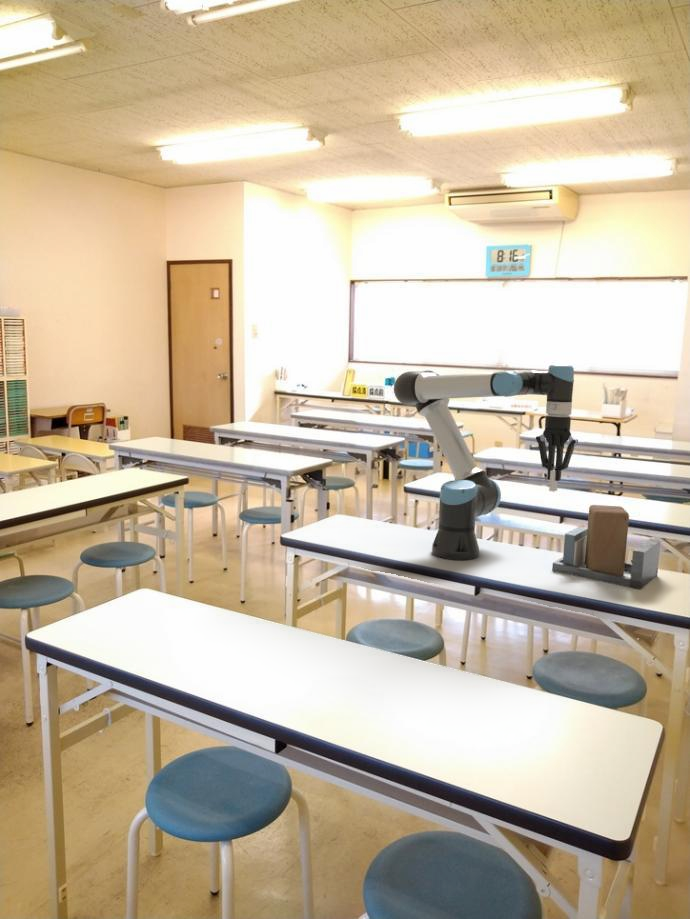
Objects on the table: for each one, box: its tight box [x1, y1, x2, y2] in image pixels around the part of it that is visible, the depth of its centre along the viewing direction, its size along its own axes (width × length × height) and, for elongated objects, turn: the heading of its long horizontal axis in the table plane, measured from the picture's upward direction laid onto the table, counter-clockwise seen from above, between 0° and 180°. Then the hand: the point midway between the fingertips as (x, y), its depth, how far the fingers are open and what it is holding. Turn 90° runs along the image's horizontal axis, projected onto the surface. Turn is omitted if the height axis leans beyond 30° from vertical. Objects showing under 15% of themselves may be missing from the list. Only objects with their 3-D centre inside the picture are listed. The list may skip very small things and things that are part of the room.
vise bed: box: [551, 538, 662, 591], centre depth 217 cm, size 26×17×11 cm, turn 52°
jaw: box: [562, 526, 588, 567], centre depth 222 cm, size 4×11×11 cm, turn 142°
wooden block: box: [584, 504, 630, 576], centre depth 216 cm, size 10×10×20 cm
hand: (553, 490), depth 225 cm, fingers closed
